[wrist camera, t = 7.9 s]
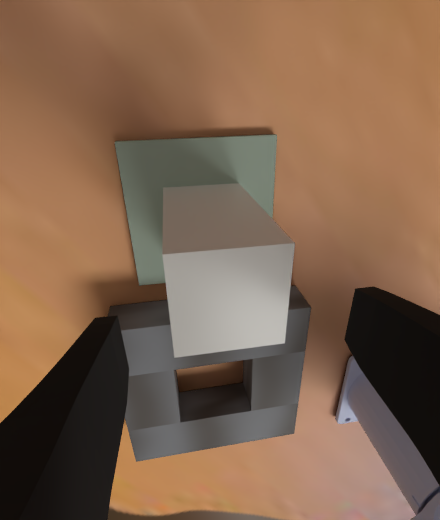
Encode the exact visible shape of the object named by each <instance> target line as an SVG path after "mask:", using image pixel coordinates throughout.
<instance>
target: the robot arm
mask: <svg viewBox="0 0 440 520" xmlns="http://www.w3.org/2000/svg"><path fill="white" fill-rule="evenodd" d="M345 341H346V343H347V345H348V347H349V349H350V351H351V353H352V355H353V356H351V357H350V358H349V360H348V364H347V369H346V373H345V378H344V382H343V386H342V391H341V395H340V400H339V404H338V409H337V413H336V418H335V419H336V421H337V423H339V424H344V423H349V422H355V421H359V423H360V424H361V426H362V428H363V429H364V431H365V433H366V434H367V436H368V438H369V439H370V441H371V442H372V444H373V446H374V447H375V449H376V451H377V452H378V454H379V456H380V457H381V459H382V460H383V462H384V464H385V465H386V467H387V469H388V470H389V472H390V474H391V475H392V477H393V478H394V480H395V482H396V483H397V485H398V487H399V488H400V490H401V492H402V493H403V495H404V496H405V498H406V500H407V501H408V503H409V505H410V506H411V508H412V510H413V511H414V513H415V514H416V516H415V517H413V518H412V519H411V520H440V315H438V314H436V313H434V312H432V311H430V310H427V309H425V308H423V307H421V306H418V305H416V304H414V303H412V302H410V301H407V300H405V299H403V298H401V297H398V296H396V295H394V294H391V293H389V292H387V291H384V290H381V289H379V288H376V287H366V288H357V289H355V292H354V297H353V302H352V307H351V311H350V316H349V321H348V326H347V330H346V335H345ZM128 382H129V365H128V361H127V356H126V351H125V347H124V342H123V337H122V333H121V328H120V324H119V319H118V315H117V316H108V317H99V318H95V319H94V320H93V321H92V322H91V323H90V325H89V326H88V327H87V328H86V329H85V330H84V332H83V333H82V334H81V335H80V337H79V338H78V339H77V340H76V341H75V343H74V344H73V345H72V346H71V347H70V349H69V350H68V351H67V352H66V353H65V354H64V356H63V357H62V358H61V359H60V360H59V361H58V362H57V364H56V365H55V366H54V367H53V368H52V369H51V370H50V372H49V373H48V374H47V375H46V376H45V377H44V378H43V380H42V381H41V382H40V383H39V384H38V385H37V386H36V387H35V388H34V389H33V390H32V391H31V392H30V393H29V394H28V395H27V397H26V398H25V399H24V400H23V401H22V402H21V403H20V404H19V405H18V406H17V407H16V408H15V409H14V410H13V411H12V412H11V413H10V414H9V415H8V416H7V417H6V418H5V419H4V420H3V421H2V422H1V423H0V520H107V519H108V510H109V503H110V496H111V490H112V484H113V479H114V473H115V468H116V462H117V457H118V451H119V446H120V440H121V435H122V429H123V424H124V418H125V412H126V406H127V397H128Z"/></svg>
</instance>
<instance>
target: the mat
mask: <svg viewBox="0 0 440 520" xmlns="http://www.w3.org/2000/svg"><path fill="white" fill-rule="evenodd" d="M276 144H277V135H276V134H268V135H245V136H222V137H200V138H177V139H154V140H132V141H115V147H116V153H117V159H118V165H119V171H120V176H121V182H122V188H123V194H124V200H125V206H126V211H127V217H128V223H129V229H130V235H131V240H132V246H133V252H134V258H135V264H136V270H137V275H138V281H139V286H140V285H150V284H159V283H166V282H165V273H164V265H163V256H162V239H163V187H181V186H198V185H215V184H232V183H239V184H240V185H241V186H242V187H243V188H244V189H245V190H246V191H247V192H248V193H249V195H250V196H251V197H252V198H253V199H254V200H255V201H256V202H257V203H258V204H259V205H260V206H261V207H262V208H263V210H264V211H265V212H266V213H267V214H268V215H269V216H270V217H271V218H272V216H273V198H274V180H275V162H276Z"/></svg>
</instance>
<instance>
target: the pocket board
mask: <svg viewBox="0 0 440 520" xmlns="http://www.w3.org/2000/svg"><path fill="white" fill-rule="evenodd" d="M310 312H311V307H310V305H309V304H308V302H307V301H306V300H305V298H304V297H303V295H302V294H301V293H300V291H299V290H298V289H297V287H296V286H291V287H290V297H289V306H288V316H287V326H286V336H285V343H283V344H276V345H268V346H260V347H253V348H245V349H238V350H230V351H223V352H215V353H207V354H200V355H192V356H185V357H177V358H174V350H173V341H172V333H171V324H170V316H169V307H168V300H162V301H153V302H144V303H135V304H126V305H117V306H110V309H109V313H108V316H117V315H118V319H119V324H120V328H121V333H122V337H123V342H124V347H125V351H126V356H127V361H128V365H129V382H128V397H127V406H126V412H125V420H126V424H127V427H128V431H129V435H130V439H131V443H132V447H133V451H134V455H135V459H136V462H137V461H143V460H148V459H154V458H159V457H165V456H171V455H176V454H182V453H188V452H193V451H199V450H204V449H210V448H216V447H221V446H227V445H232V444H238V443H244V442H249V441H255V440H261V439H266V438H272V437H277V436H283V435H289V434H294V430H295V423H296V415H297V408H298V401H299V393H300V386H301V378H302V371H303V363H304V356H305V349H306V341H307V334H308V326H309V319H310ZM241 360H243V383H238V384H232V385H225V386H218V387H212V388H205V389H199V390H192V391H186V392H179V389H178V381H177V373H176V370H177V369H184V368H191V367H198V366H205V365H212V364H219V363H226V362H234V361H241Z"/></svg>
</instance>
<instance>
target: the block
mask: <svg viewBox="0 0 440 520" xmlns="http://www.w3.org/2000/svg"><path fill="white" fill-rule="evenodd" d="M294 247H295V243H294V242H293V240H292V239H291V238H290V237H289V236H288V235H287V234H286V233H285V232H284V231H283V230H282V229H281V228H280V227H279V226H278V224H277V223H276V222H275V221H274V220H273V219H272V218H271V217H270V216H269V215H268V214H267V213H266V212H265V211H264V210H263V208H262V207H261V206H260V205H259V204H258V203H257V202H256V201H255V200H254V199H253V198H252V197H251V196H250V195H249V193H248V192H247V191H246V190H245V189H244V188H243V187H242V186H241V185H240V184H239V183H232V184H215V185H198V186H181V187H163V239H162V256H163V265H164V273H165V282H166V290H167V299H168V307H169V316H170V324H171V333H172V341H173V350H174V358H177V357H185V356H192V355H200V354H207V353H215V352H223V351H230V350H238V349H245V348H253V347H260V346H268V345H276V344H283V343H285V336H286V326H287V316H288V306H289V297H290V287H291V277H292V267H293V257H294Z"/></svg>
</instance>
